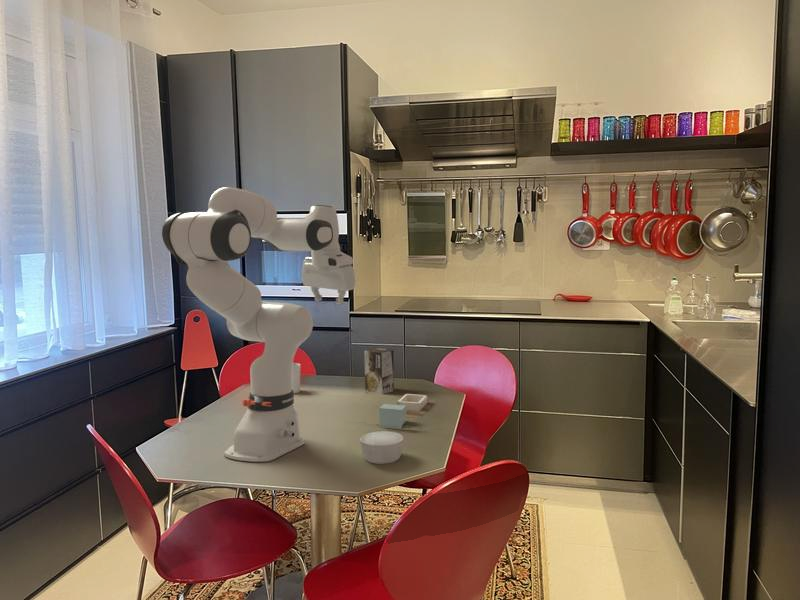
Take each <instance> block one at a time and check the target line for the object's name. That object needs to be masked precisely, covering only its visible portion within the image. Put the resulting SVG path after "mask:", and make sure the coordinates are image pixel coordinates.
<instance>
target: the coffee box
mask: <svg viewBox="0 0 800 600" xmlns="http://www.w3.org/2000/svg"><path fill="white" fill-rule="evenodd" d="M363 355H364V379H365V380H364V384H365V385H364V386H365V388H364V389H365V391H364V392H365V394H369V393H370V392H372V393H375V394H380V395H385V394H388V393H391V392H394V391H395V384H394V383H395V382H394V381H395V378H394V374H395V373H394V371H395V369H394V367H395V366H394V364H395V363H394V349H389V348H380V347H373V348H372V347H371V348H368V349H364V353H363Z"/></svg>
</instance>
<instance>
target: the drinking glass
mask: <svg viewBox="0 0 800 600" xmlns="http://www.w3.org/2000/svg"><path fill="white" fill-rule="evenodd" d="M292 390H293V393H294V394H298V393H300V392H301V364H300V363H297V362H296V363H295V362H292Z"/></svg>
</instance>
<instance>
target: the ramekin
mask: <svg viewBox="0 0 800 600" xmlns="http://www.w3.org/2000/svg"><path fill="white" fill-rule="evenodd" d="M404 442H405V438H404V436H403V435H402V434H400V433H399V432H394V431H386V430H383V431H371V432H368V433H365V434H363V435H362V436H361V437H360V438H359V444H360V445H361V446H360V447H361V452H362V456H363V458H364V460H366V462H368V463H370V464H375V465H377V464H379V465H385V464H391V463H395V462H396V461H398V460H399V459H400V458H401V456H402V450H403V445H404Z"/></svg>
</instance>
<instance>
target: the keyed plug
mask: <svg viewBox="0 0 800 600" xmlns="http://www.w3.org/2000/svg"><path fill="white" fill-rule="evenodd" d="M378 412H379V422H378V423H379V428H382V429H393V430H394V429H395V430H403V429H404V428H405V427H406V425H404V424H405V423H406V422H407V417H406V406H404V405H395V404H391V403H390V404H388V403H384V404H382V405H381V406H379V409H378Z"/></svg>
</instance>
